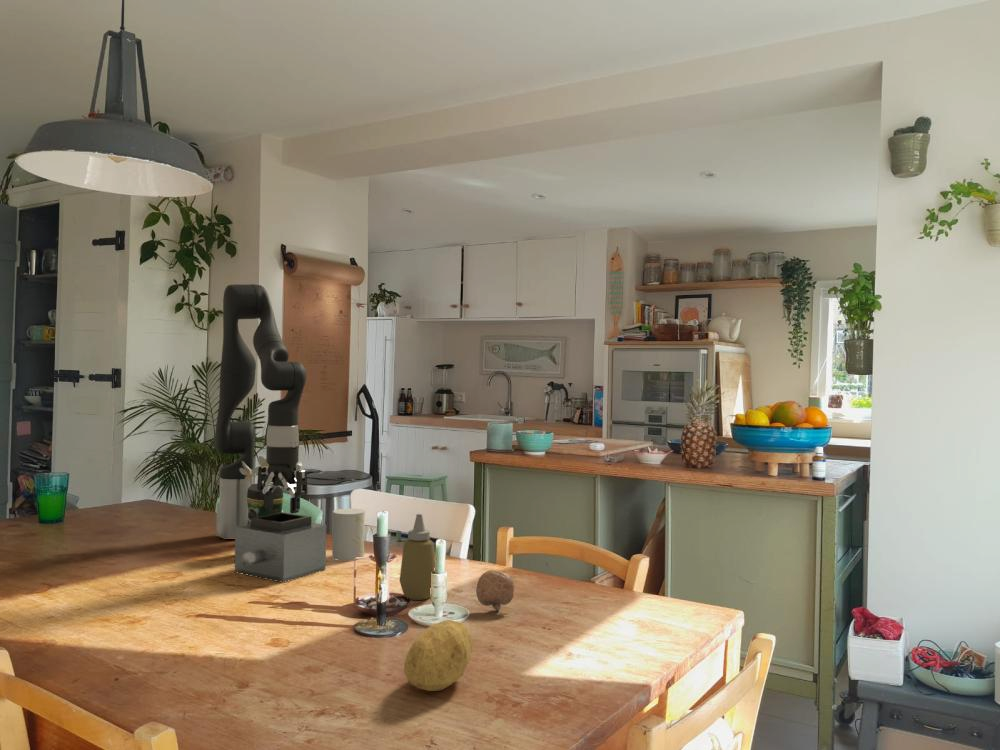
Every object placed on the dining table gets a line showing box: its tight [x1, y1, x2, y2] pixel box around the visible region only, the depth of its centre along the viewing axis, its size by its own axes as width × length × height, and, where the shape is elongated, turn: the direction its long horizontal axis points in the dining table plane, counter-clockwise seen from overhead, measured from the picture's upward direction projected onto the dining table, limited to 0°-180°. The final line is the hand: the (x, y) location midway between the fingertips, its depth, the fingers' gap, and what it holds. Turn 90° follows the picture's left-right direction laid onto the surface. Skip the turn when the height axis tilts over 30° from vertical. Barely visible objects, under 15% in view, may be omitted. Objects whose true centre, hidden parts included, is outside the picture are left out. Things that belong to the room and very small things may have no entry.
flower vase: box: [239, 455, 303, 512], centre depth 223 cm, size 13×18×25 cm
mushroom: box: [475, 569, 515, 612], centre depth 162 cm, size 8×6×8 cm
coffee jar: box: [247, 482, 284, 524], centre depth 207 cm, size 10×8×19 cm
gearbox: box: [234, 511, 327, 583], centre depth 188 cm, size 16×18×13 cm
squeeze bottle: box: [399, 513, 436, 601], centre depth 171 cm, size 8×8×18 cm
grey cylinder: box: [331, 507, 366, 561], centre depth 205 cm, size 8×8×12 cm
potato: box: [403, 619, 473, 692], centre depth 124 cm, size 10×14×10 cm
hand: (281, 510), depth 190 cm, fingers open, 8 cm apart
